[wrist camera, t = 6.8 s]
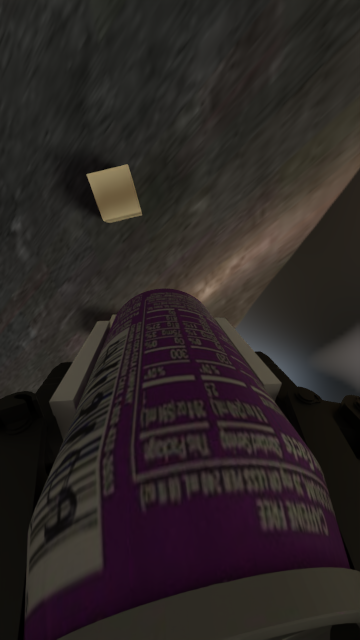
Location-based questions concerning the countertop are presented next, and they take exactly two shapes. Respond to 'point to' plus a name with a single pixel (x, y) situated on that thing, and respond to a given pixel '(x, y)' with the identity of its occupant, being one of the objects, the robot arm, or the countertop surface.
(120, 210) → the beech cube
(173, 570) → the beverage can
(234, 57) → the countertop surface
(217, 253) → the countertop surface
